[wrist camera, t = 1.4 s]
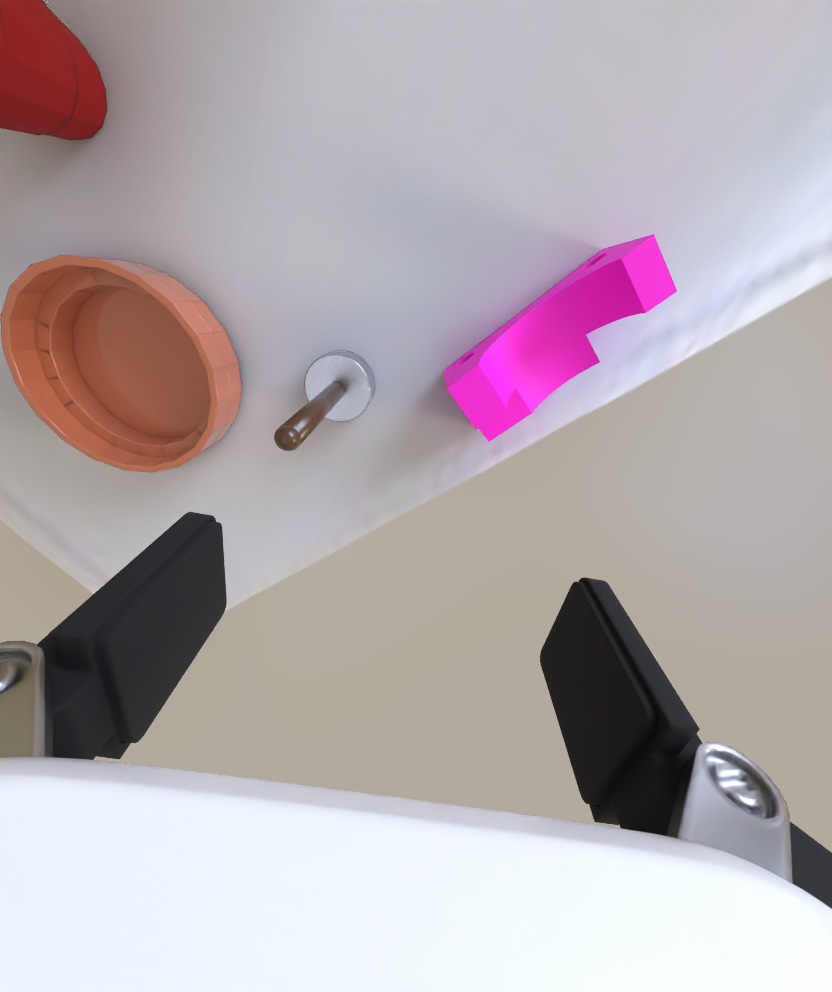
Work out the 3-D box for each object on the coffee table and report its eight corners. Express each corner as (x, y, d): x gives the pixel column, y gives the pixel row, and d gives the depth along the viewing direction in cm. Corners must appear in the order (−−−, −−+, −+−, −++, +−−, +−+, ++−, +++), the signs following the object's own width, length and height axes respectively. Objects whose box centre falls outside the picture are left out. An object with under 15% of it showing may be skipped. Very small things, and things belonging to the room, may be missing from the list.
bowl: (19, 334, 34) (-44, 339, 29) (143, 216, 30) (92, 201, 25) (160, 479, 40) (127, 501, 35) (280, 398, 36) (259, 412, 31)
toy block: (482, 426, 36) (494, 454, 30) (443, 370, 34) (446, 388, 27) (636, 320, 32) (691, 325, 25) (603, 248, 30) (653, 234, 23)
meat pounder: (300, 372, 34) (207, 424, 20) (351, 337, 33) (290, 366, 19) (337, 424, 37) (277, 506, 22) (386, 393, 35) (357, 459, 21)
